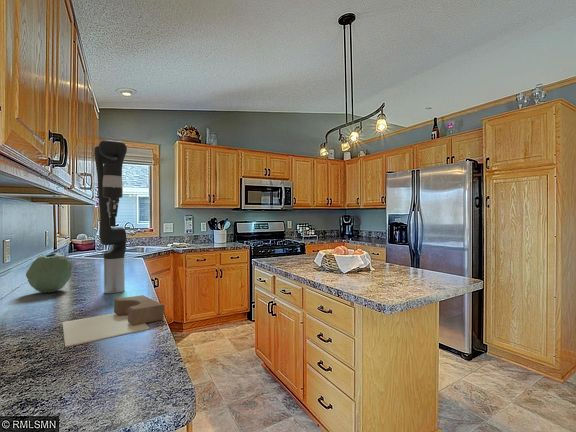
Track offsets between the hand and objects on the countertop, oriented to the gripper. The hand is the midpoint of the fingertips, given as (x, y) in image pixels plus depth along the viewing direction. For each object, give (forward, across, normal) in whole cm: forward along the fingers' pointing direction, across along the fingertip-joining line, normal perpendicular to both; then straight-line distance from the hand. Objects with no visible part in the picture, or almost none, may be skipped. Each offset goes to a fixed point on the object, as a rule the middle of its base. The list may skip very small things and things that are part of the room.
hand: (112, 226), depth 133 cm
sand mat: (+34, +29, -6) cm, 45 cm away
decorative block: (+30, +16, +4) cm, 35 cm away
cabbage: (+36, -46, -22) cm, 62 cm away
